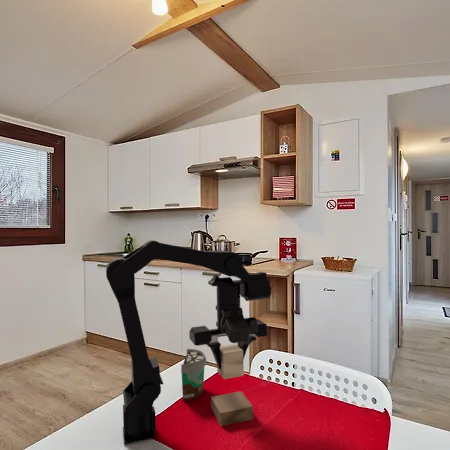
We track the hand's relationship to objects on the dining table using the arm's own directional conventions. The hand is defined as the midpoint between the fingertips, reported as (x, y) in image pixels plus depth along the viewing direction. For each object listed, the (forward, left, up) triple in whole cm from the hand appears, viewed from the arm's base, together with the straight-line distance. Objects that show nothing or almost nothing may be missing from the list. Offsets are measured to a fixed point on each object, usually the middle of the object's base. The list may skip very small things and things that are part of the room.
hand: (229, 366), depth 85 cm
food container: (-5, +14, -12) cm, 19 cm away
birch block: (0, 0, -2) cm, 2 cm away
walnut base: (0, 0, -11) cm, 11 cm away
